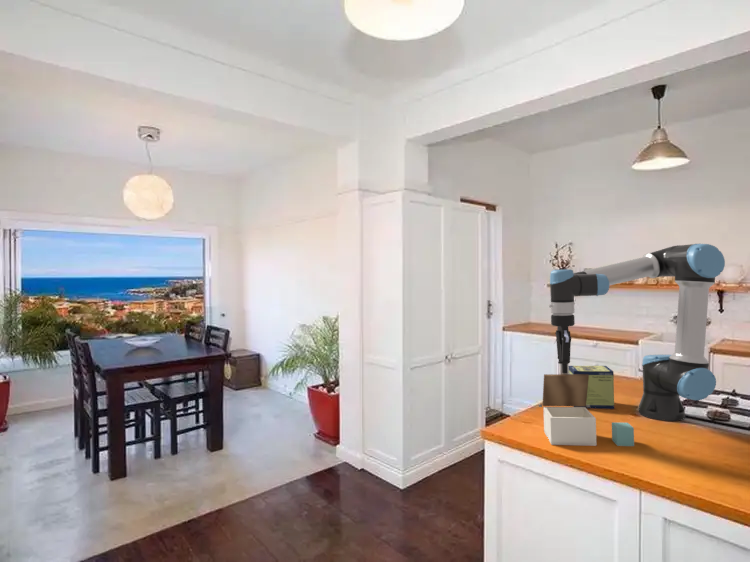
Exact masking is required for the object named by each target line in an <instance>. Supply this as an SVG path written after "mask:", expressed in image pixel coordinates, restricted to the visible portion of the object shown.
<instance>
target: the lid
mask: <svg viewBox="0 0 750 562" xmlns="http://www.w3.org/2000/svg"><path fill="white" fill-rule="evenodd" d="M588 380H589V375H588V374H560V373H559V374H557V373H556V374H553V373H551V374H543V384H542V385H543V386H542V387H543V388H542V389H543V390H542V403H541V404H542V407H573V406H586V400H587V390H588Z"/></svg>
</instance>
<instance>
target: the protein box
mask: <svg viewBox="0 0 750 562" xmlns="http://www.w3.org/2000/svg"><path fill="white" fill-rule="evenodd" d="M568 367H569V374H588V375H589V380H588V390H587V400H586V405H590V407H586V406H572V407H586V409H597V410H598V409H600V410H601V409H602V410H614V409H615V391H614V390H615V388H614V387H615V380H614V379H615V378H614V376H615V374H614V373H615V372H614V371H613V370H612V369H611V368H610V367H609V366H607V365H568Z"/></svg>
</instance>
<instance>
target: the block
mask: <svg viewBox="0 0 750 562" xmlns="http://www.w3.org/2000/svg"><path fill="white" fill-rule="evenodd" d="M634 430H635V428H634V427H633V426H632V425H631V424H630V423H629V422H615V421H614V422H611V441H612V442H613V443H614V444H615V445H616V446H617V447H619V446H620V447H635V431H634Z"/></svg>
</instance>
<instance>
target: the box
mask: <svg viewBox="0 0 750 562" xmlns="http://www.w3.org/2000/svg"><path fill="white" fill-rule="evenodd" d="M538 407H539V408H543V432H544V434H545V436H546V438H547V437H548V438H547V439H549V440H548V442H549V443H550V444H551V445H552V446H553V445H554V446H593V447H594V446H595V447H597V423H596V422H597V418H596V417H595V416H594V415H593V414H592V412H590V411H589V410H588V408H586V407H590V405H586V407H573V406H543V405H542V403H541V404H540V403H539V404H538Z"/></svg>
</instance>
